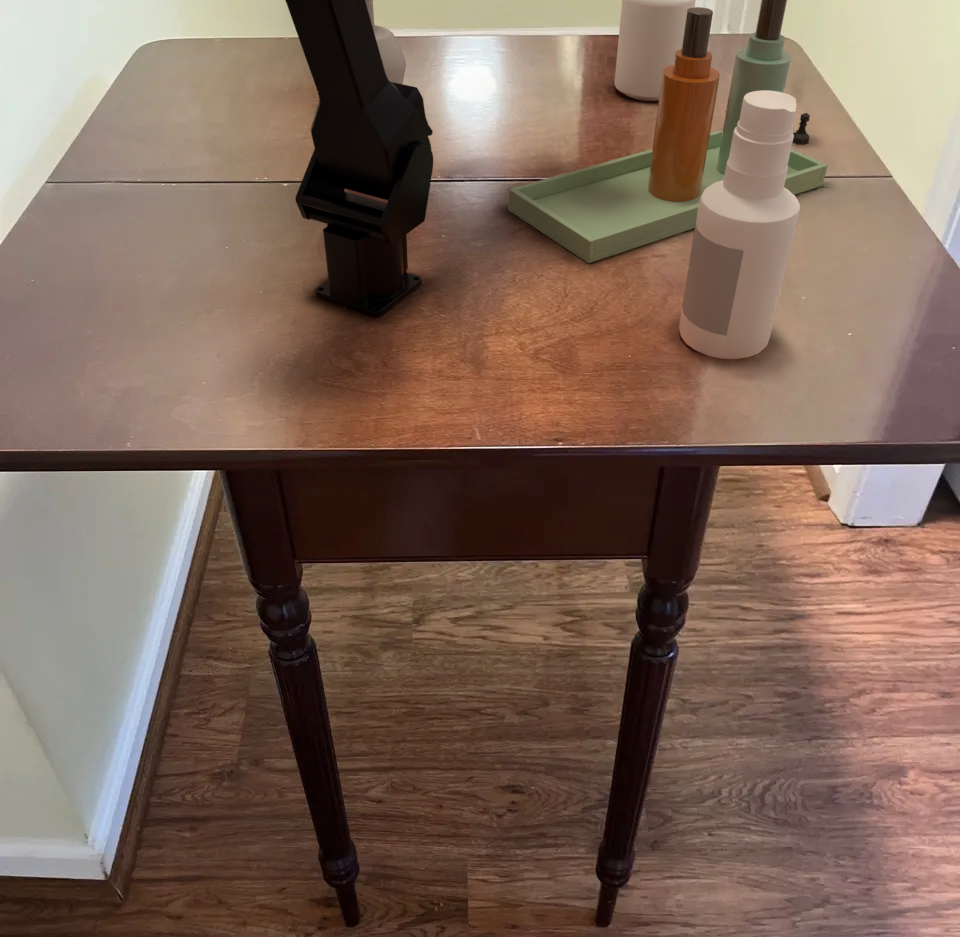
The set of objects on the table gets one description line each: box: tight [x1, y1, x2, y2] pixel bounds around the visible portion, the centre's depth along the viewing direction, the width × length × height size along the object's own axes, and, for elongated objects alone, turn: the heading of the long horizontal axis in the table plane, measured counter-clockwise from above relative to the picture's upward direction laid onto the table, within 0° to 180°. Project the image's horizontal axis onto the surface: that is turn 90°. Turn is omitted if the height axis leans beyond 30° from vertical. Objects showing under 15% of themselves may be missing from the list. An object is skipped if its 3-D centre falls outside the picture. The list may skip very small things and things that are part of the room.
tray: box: [507, 128, 829, 264], centre depth 91 cm, size 29×12×2 cm, turn 123°
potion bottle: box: [365, 0, 407, 84], centre depth 106 cm, size 9×9×18 cm
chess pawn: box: [792, 112, 811, 145], centre depth 102 cm, size 2×2×3 cm
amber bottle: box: [648, 6, 721, 202], centre depth 87 cm, size 5×5×16 cm
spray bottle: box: [678, 90, 801, 360], centre depth 68 cm, size 7×7×18 cm
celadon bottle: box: [717, 0, 792, 175], centre depth 90 cm, size 5×5×16 cm
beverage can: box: [613, 0, 696, 102], centre depth 110 cm, size 8×8×12 cm
